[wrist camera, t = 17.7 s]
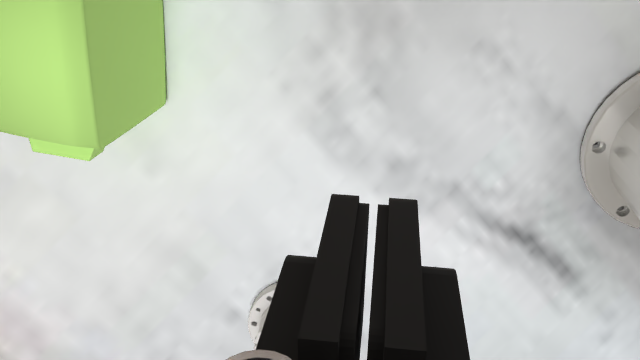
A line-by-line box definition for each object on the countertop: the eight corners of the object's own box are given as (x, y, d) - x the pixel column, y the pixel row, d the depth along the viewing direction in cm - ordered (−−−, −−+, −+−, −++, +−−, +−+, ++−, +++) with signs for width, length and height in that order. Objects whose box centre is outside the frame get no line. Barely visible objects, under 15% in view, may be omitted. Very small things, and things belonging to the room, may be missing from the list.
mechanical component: (382, 332, 47) (310, 257, 45) (381, 370, 43) (302, 290, 41) (300, 375, 51) (229, 308, 48) (292, 413, 47) (215, 343, 45)
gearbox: (11, -146, 34) (-126, -169, 25) (158, -132, 32) (65, -150, 24) (50, 119, 42) (-43, 169, 33) (169, 138, 41) (102, 194, 32)
